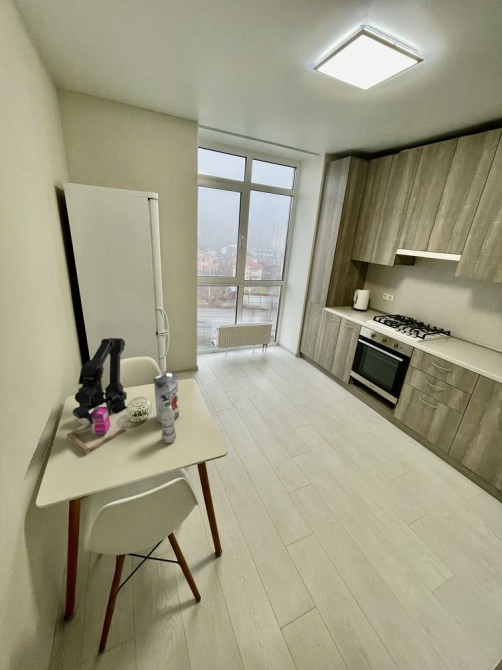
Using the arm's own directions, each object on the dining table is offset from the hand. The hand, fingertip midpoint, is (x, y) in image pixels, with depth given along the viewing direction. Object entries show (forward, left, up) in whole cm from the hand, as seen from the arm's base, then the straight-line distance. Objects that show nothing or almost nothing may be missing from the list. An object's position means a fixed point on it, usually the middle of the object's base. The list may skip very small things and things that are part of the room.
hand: (100, 419), depth 123 cm
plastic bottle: (-15, +29, -8) cm, 34 cm away
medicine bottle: (-1, -13, -8) cm, 15 cm away
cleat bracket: (+1, 0, -8) cm, 8 cm away
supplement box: (0, 0, -6) cm, 6 cm away
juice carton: (-25, +17, -8) cm, 31 cm away
